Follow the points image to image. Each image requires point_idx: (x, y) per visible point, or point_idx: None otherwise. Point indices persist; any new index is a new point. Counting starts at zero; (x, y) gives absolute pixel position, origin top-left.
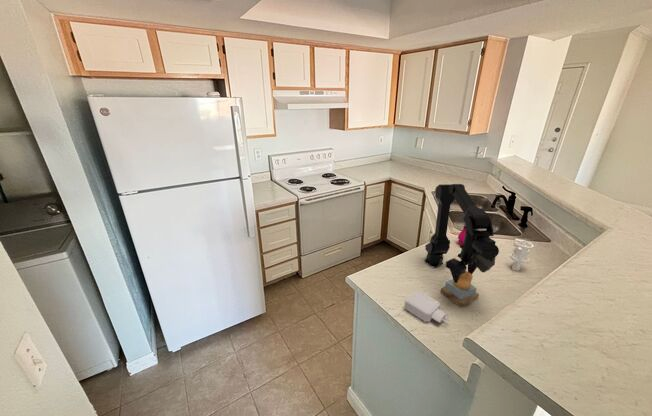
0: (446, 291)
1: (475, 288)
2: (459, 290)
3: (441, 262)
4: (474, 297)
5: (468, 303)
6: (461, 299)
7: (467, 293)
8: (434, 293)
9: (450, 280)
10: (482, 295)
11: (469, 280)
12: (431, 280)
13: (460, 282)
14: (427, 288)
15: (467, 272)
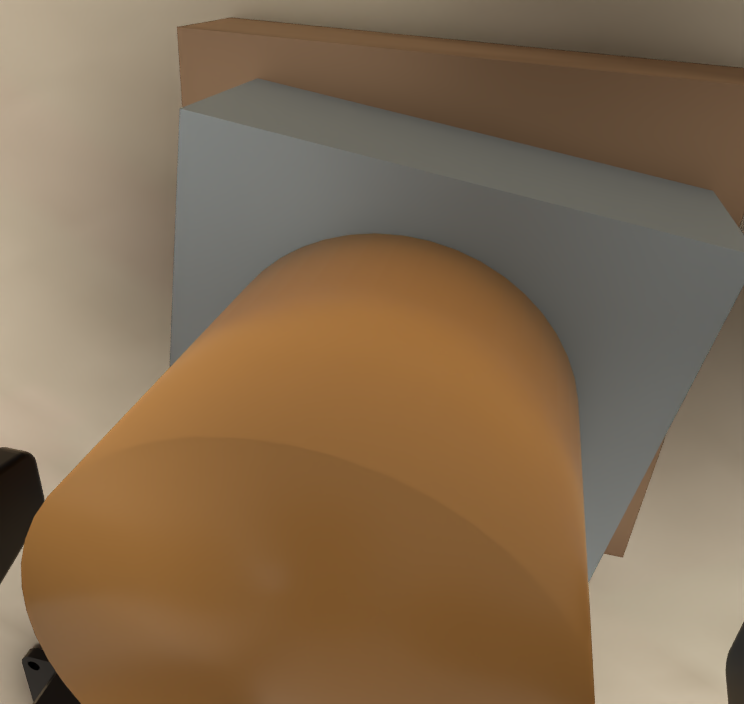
0: (647, 473)
1: (215, 127)
2: (661, 358)
3: (57, 699)
4: (338, 40)
5: (538, 50)
6: (686, 184)
7: (521, 177)
8: (704, 534)
9: None
10: (66, 9)
11: (398, 425)
12: None
13: (583, 526)
14: (663, 627)
15: (75, 628)
